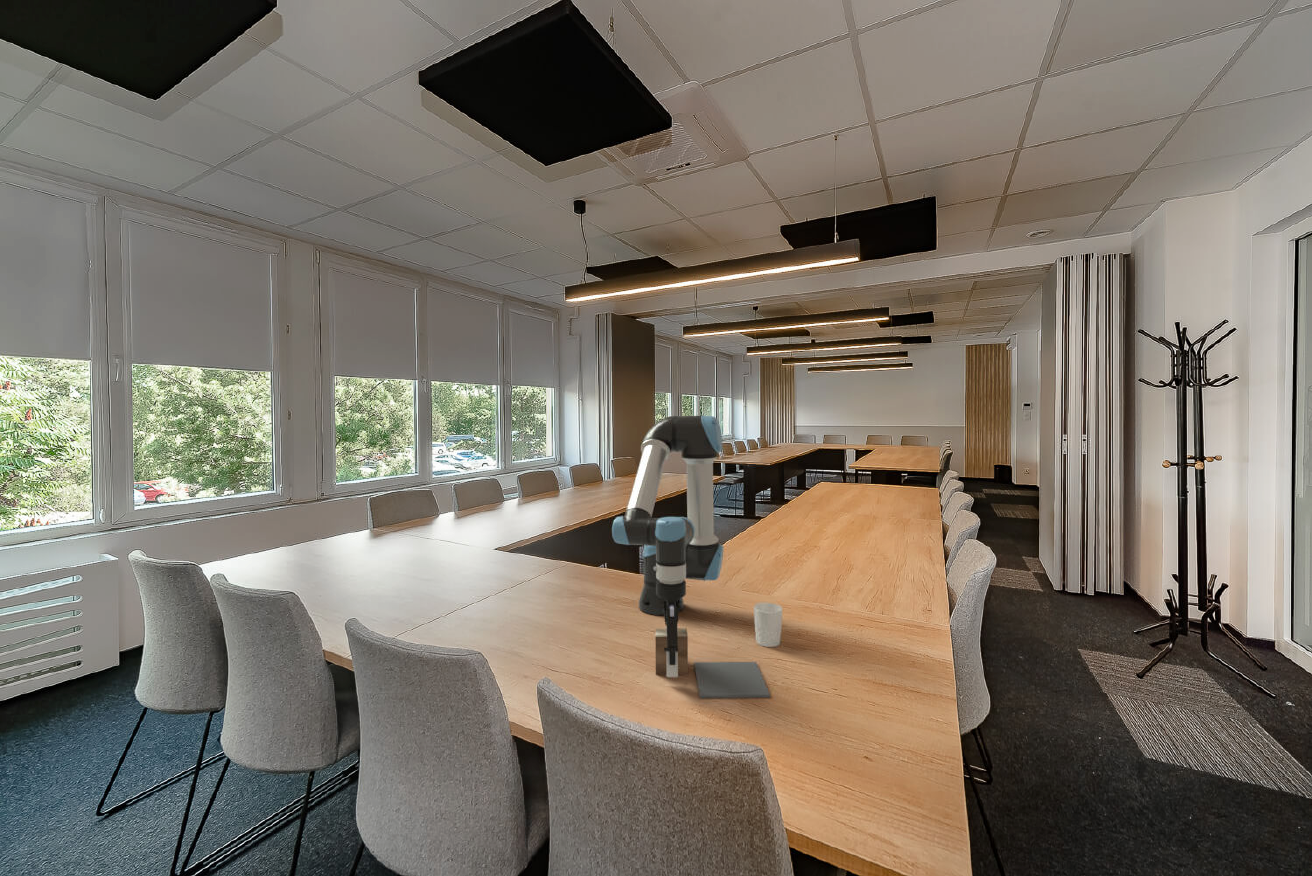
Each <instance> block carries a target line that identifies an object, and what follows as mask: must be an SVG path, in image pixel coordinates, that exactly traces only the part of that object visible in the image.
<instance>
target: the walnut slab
mask: <svg viewBox="0 0 1312 876" xmlns="http://www.w3.org/2000/svg"><path fill="white" fill-rule="evenodd" d="M654 632H655V636H654V637H655V639H654V640H655V641H654V642H655V675H657V676H658V675H661V676H662V675H665V676H667V668H666V651H664V648H667V629H665V628H655V631H654ZM688 634H689V633H688V629H687V628H685V627H683V628H681V627H680V628H678V627H677V635H678V676H679V675H681V676H682V675H689V663H688V661H689V656H688V655H689V652H688V651H689V650H688V646H689V644H688V641H689V640H688V639H689V638H688V637H689V636H688ZM670 646H675V645H670Z"/></svg>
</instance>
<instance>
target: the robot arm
mask: <svg viewBox="0 0 1312 876" xmlns="http://www.w3.org/2000/svg"><path fill="white" fill-rule="evenodd" d="M722 451H723V437H722V430H721V425H720V422H719V420H718V419H717V418H716V417H715V416H712V415H703V414H702V415H683V416H682V415H678V416H677V415H672V416H667V417H663V418H662V419H660V420H659V421H657V422H656V423H655V424H653V426H652V427H650V428H649V429H648V431H647V432H646V434H645V436H644V437H643V439H642V442H641V446H640V452H641V456H640V461H639V464H638V466H637V467H638V468H637V471H636V473H635V479H634V481H633V485H632V489H631V493H630V496H629V498H628V503H627V506H626V510H625V514H624V516H623V515H621V516H616V517H615V519H614V520H613V522H612V526H611V527H612V528H611V535H612V539H613V541H614V542H615V543H616V544H619V545H620V544H621V545H627V546H632V545H633V546H643V554H642V557H643V586H642V590H641V592H640V596H639V598H638V609H639V610H640V611H641V612H643V613H645V614H649V615H655V616H664V617H663V618H664V625H665V627H664V629H667V648H664V651H666V668H667V675H666V678H679V675H678V635H677V628H678V625H679V624H678V623H679V619H680V617H679V612H681V611H683V610H684V597H685V596H686V595H687V581H686V580H695V581H696V580H697V581H703V582H705V581H716V580H718V579H719V577H720V574H721V571H722V570H721V569H722V565H723V557H724V545H722V544H719V538H718V537H717V536H716V535H715V533H714V532H715V530H714V529H715V527H714V525H715V524H714V523H715V522H714V516H715V515H714V462H715V460H717V459H718V453H721V452H722ZM672 452H674V453H675V452H677V453H679V452H680V453H681V459H683V461H684V462H685V463H686V506H687V507H686V509H687V510H686V511H687V513H686V515H687V517H684V516H663V517H659V518H658V517H655V518H654V517H652V516H653V512H654V507H655V503H656V501H657V496H658V491H659V486H660V485H661V484H660V483H661V479H662V475H663V471H664V467H665V462H666V460H668V459H669V457H670V455H671V453H672ZM670 645H675V646H670Z"/></svg>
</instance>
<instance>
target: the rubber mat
mask: <svg viewBox="0 0 1312 876" xmlns="http://www.w3.org/2000/svg"><path fill="white" fill-rule="evenodd" d="M693 664H694V670H695V676H696V677H695V678H696V683H697V684H696V685H697V690H698V695H699V699H736V698H737V699H740V698H741V699H742V698H744V699H746V698H747V699H749V698H753V699H755V698H757V699H758V698H762V699H763V698H765V699H767V698H768V699H769V698H771V694H770V692H769V690H768V686H767V685H766V682H765V680H764V677H763V675H762V673H761V669H760V668H759V665H758V664H757V661H701V662H700V661H697V662H695V661H694V662H693Z"/></svg>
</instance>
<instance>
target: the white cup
mask: <svg viewBox="0 0 1312 876" xmlns="http://www.w3.org/2000/svg"><path fill="white" fill-rule="evenodd" d="M753 615H754V616H753V617H754V618H753V619H754V621H753V622H754V630H755V631H754V632H755V642H756V643H757V645H759V646H762V647H764V648H765V647H766V648H775V647H778V646H780V644H781V637H782V636H781V635H782V623H783V622H782V621H783V607H782V606H781V605H779V604H777V603H774V602H759V603H756V604H754V606H753Z"/></svg>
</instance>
